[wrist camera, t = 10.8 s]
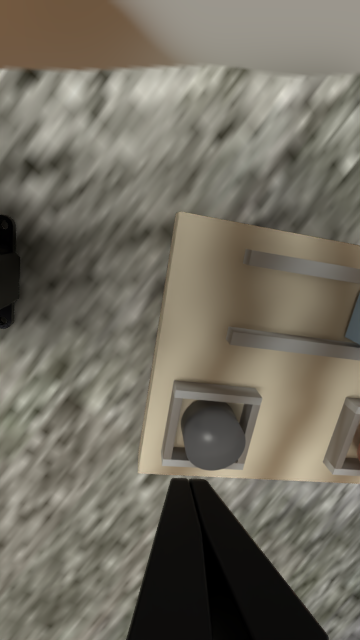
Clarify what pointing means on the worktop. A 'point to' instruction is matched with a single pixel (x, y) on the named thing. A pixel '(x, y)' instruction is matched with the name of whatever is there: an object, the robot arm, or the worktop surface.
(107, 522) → the worktop surface
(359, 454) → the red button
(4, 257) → the robot arm
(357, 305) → the slider knob
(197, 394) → the control panel
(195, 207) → the worktop surface
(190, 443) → the black button
